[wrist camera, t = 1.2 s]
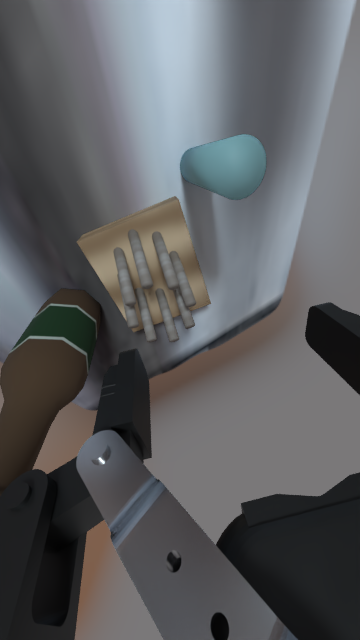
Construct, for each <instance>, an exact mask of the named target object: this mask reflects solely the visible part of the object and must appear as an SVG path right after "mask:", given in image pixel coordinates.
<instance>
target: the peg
mask: <svg viewBox="0 0 360 640" xmlns="http://www.w3.org/2000/svg"><path fill="white" fill-rule="evenodd" d="M180 170H181V174H182V176H183V177H184V179H185V180H187V181H188V182H190V183H193V184H195V185H198V186H200V187H202V188H205V189H207V190H209V191H212V192H214V193H217V194H219V195H221V196H224V197H226V198H229V199H232V200H239V199H243V198H246V197H248V196H249V195H251V194H252V193H253V192H254V191H255V190H256V189H257V188H258V186H259V185H260V183H261V181H262V179H263V177H264V174H265V170H266V153H265V150H264V147H263V145H262V144H261V142H260V141H259V140H258V139H257V138H255V137H254V136H251V135H247V134H242V135H237V136H233V137H230V138H226V139H222V140H219V141H215V142H212V143H208V144H204V145H201V146H197V147H193V148H190V149H188V150H187V151H186V152H185V153H184V154H183V156H182V158H181V162H180Z"/></svg>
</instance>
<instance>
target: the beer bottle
mask: <svg viewBox="0 0 360 640" xmlns="http://www.w3.org/2000/svg"><path fill="white" fill-rule="evenodd" d="M100 321H101V318H100V304H99V303H98V302H97V301H96V300H95V299H94V298H92V297H91V296H90V295H89V294H88V293H87V292H86V291H84V290H74V289H60V290H59V291H58V292H57V293H55V294H54V295H53V296H52V297H51V298H49V299H48V300H47V301H46V302H45V303H44V304H43V306H42V307H41V308H40V310H39V311H38V313H37V314H36V316H35V317H34V318H33V320H32V321H31V323H30V324H29V326H28V327H27V329H26V330H25V332H24V333H23V334H22V336H21V337H20V339H19V340H18V342H17V343H16V345H15V346H14V348H13V349H12V350H11V352H10V353H9V355H8V357H7V359H6V361H5V362H4V364H3V366H2V369H1V377H0V385H1V389H2V393H3V397H4V404H3V407H2V411H1V413H0V496H1V494H2V493H3V492H4V490H5V489H6V488H7V487H8V485H9V484H10V483H11V482H12V481H14V480H15V479H16V478H17V477H19V476H20V475H22V474H23V473H25V472H27V471H30V470H32V469H33V466H34V464H35V462H36V459H37V457H38V454H39V452H40V450H41V447H42V445H43V442H44V440H45V438H46V435H47V433H48V430H49V428H50V426H51V424H52V422H53V421H54V419H55V417H56V415H57V413H58V412H59V410H61V409H62V408H63V407H65V406H66V405H67V404H68V403H70V402H71V401H72V400H74V399H75V397H76V396H77V395H78V394H79V392H80V391H81V390H82V388H83V387H84V384H85V381H86V378H87V375H88V372H89V368H90V364H91V360H92V356H93V352H94V348H95V344H96V340H97V336H98V332H99V328H100Z"/></svg>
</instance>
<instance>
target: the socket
mask: <svg viewBox="0 0 360 640" xmlns="http://www.w3.org/2000/svg"><path fill="white" fill-rule="evenodd" d="M77 243H78V245H79V246H80V248H81V249H82V251H83V253H84V254H85V256H86V257H87V259H88V260H89V262H90V264H91V265H92V267H93V268H94V270H95V272H96V273H97V275H98V276H99V278H100V279H101V281H102V283H103V284H104V286H105V287H106V289H107V291H108V292H109V294H110V295H111V297H112V298H113V300H114V302H115V303H116V305H117V306H118V308H119V310H120V311H121V313H122V314H123V316H124V317H125V319H126V321H127V323H128V327H129V328H131V329H132V330H133V332H136V331H138V330H141V329H144V331H145V335H146V339H147V342H154V341H156V340H157V337H156V333H155V329H154V326H153V325H155V324H157V323H160V322H163V321H164V324H165V328H166V331H167V334H168V338H169V341H170V342H175V341H177V340H179V337H178V333H177V330H176V327H175V324H174V321H173V318H174V317H176V316H179V315H181V316H182V319H183V322H184V325H185V328H186V329H189V328H192V327H194V326H195V323H194V320H193V317H192V314H191V312H190V311H192V310H195V309H198V308H200V307H203V306H206V305H209V304H211V302H210V299H209V296H208V292H207V289H206V286H205V283H204V279H203V276H202V273H201V270H200V267H199V263H198V260H197V257H196V254H195V250H194V247H193V244H192V241H191V238H190V234H189V231H188V228H187V225H186V221H185V218H184V215H183V212H182V209H181V205H180V202H179V199H178V198H177V197H176V196H174V197H172V198H169V199H167V200H164V201H162V202H160V203H157V204H155V205H153V206H150V207H148V208H145V209H143V210H141V211H138V212H136V213H134V214H131V215H129V216H126V217H124V218H122V219H119V220H117V221H114V222H112V223H110V224H107V225H105V226H103V227H100V228H98V229H95V230H93V231H91V232H88V233H86V234H83V235H82V236H81V238H80V239H79V240H78V241H77Z"/></svg>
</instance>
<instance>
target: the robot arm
mask: <svg viewBox="0 0 360 640" xmlns="http://www.w3.org/2000/svg"><path fill="white" fill-rule="evenodd" d="M305 337H306V340H307V343H308V344H309V346H310V347H311V348H312V349H313V350H314V351H315V352H316V353H317V354H318V355H320V357H321V358H322V359H323V360H324V361H325V362H327V364H328V365H330V366H331V367H332V368H333V369H334V370H335V371H336V372H337V373H338V374H339V375H340V376H341V377H342V378H343V379H344V380H345V381H346V382H347V383H348V384H349V385H350V386H351V387H352V388H353V389H354V390H355V391H356V392H357V393H358V394H360V316H359V315H357V314H354V313H351V312H348V311H345V310H342V309H340V308H339V307H337V306H336V305H334V304H333V303H324V304H320V305H316V306H312V307H310V309H309V312H308V319H307V326H306V332H305ZM102 388H103V389H102V391H101V398H100V401H99V406H98V411H97V416H96V422H95V426H94V431H93V435H92V436H91V437H90V438H89V439H88V440H87V441H86V442H85V443H84V444H83V446H82V448H81V449H80V451H79V453H78V456H77V457H75V458H74V459H72V460H71V461H69V462H67V463H66V464H64V465H62V466H61V467H59V468H58V469H55V470H54V471H52V472H50V473H49V474H46V473H45V472H43V471H42V470H39V469H34V470H30V471H27V472H25V473H23V474H22V475H20V476H19V477H17V478H16V479H15V480H14V481H12V482H11V483H10V484H9V485H8V487H7V488H6V489H5V490H4V492H3V493H2V494H1V496H0V640H74V638H75V630H76V621H77V612H78V603H79V595H80V586H81V578H82V568H83V560H84V552H85V543H86V534H87V531H89V530H90V529H91V528H93V527H94V526H96V525H97V524H98V523H100V522H101V521H103V520H105V522H106V523H107V525H108V527H109V529H110V531H111V540H112V542H113V545H114V547H115V549H116V551H117V553H118V555H119V557H120V559H121V561H122V563H123V565H124V566H125V568H126V570H127V572H128V574H129V576H130V578H131V579H132V581H133V583H134V585H135V587H136V589H137V591H138V593H139V594H140V596H141V598H142V600H143V602H144V604H145V606H146V607H147V609H148V611H149V613H150V615H151V617H152V619H153V620H154V622H155V624H156V626H157V628H158V630H159V632H160V633H161V636H162V637H163V639H164V640H360V473H356V474H352V475H349V476H348V477H347V478H345V479H344V480H343V481H341V482H340V483H338V484H337V485H336V486H334V487H333V488H332V489H330V490H329V491H327V492H326V493H325V494H323V495H321V496H301V495H285V494H284V495H283V494H275V495H271V496H267V497H263V498H260V499H256V500H252V501H248V502H244V503H241V507H242V514H241V515H240V516H238V517H236V518H235V519H234V520H233V521H232V522H231V523H230V524H229V525H228V527H227V528H226V529H225V530H224V532H223V533H222V535H221V537H220V538H219V540H218V542H217V544H216V545H215V544H214V542H213V541H212V540H211V539H210V538H209V537H208V536H207V534H206V533H205V532H204V531H203V530H202V528H201V527H200V526H199V525H198V524H197V523H196V522H195V520H194V519H193V518H192V517H191V516H190V515H189V514H188V512H187V511H186V510H185V509H184V508H183V506H182V505H181V504H180V503H179V502H178V500H177V499H176V498H175V497H174V496H173V495H172V494H171V492H170V491H169V490H168V489H167V488H166V487H165V486H164V484H163V483H162V482H161V481H160V480H157V479H156V478H155V477H154V476H153V475H152V474H151V472H150V471H149V470H148V469H147V468H146V466H145V465H144V464H143V460H144V459H148V458H151V456H152V453H151V424H150V394H149V380H148V375H147V372H146V369H145V367H144V364H143V362H142V359H141V356H140V354H139V351H138V349H132V350H128V351H124V352H120V354H119V361H118V365H115V366H111V367H110V368H109V370H108V371H107V373H106V375H105V376H104V380H103V385H102Z"/></svg>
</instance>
